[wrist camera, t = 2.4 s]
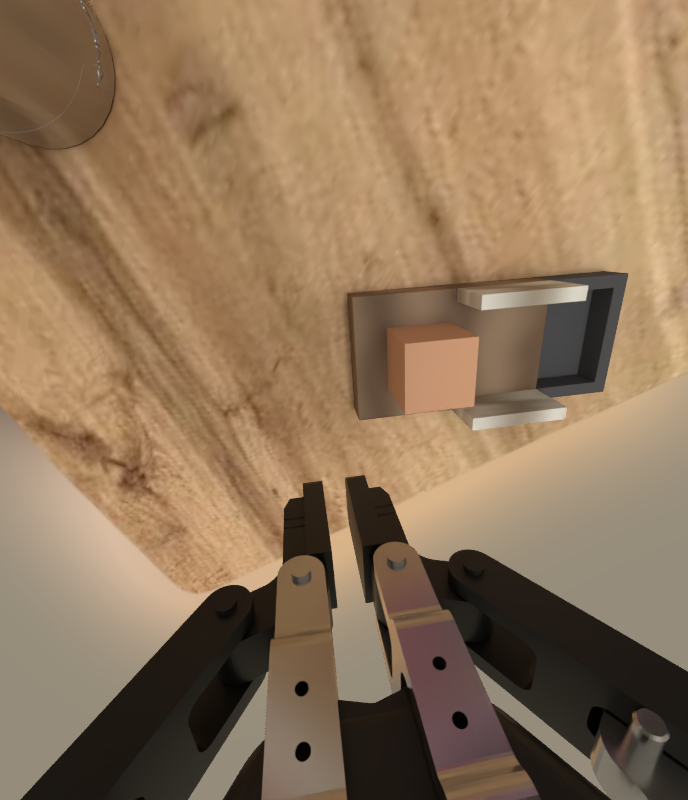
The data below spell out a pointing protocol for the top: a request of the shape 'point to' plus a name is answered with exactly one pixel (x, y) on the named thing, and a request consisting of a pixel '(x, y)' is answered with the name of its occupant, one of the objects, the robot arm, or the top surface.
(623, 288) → the tray
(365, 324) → the walnut platform
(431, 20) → the top surface
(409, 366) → the terracotta block
